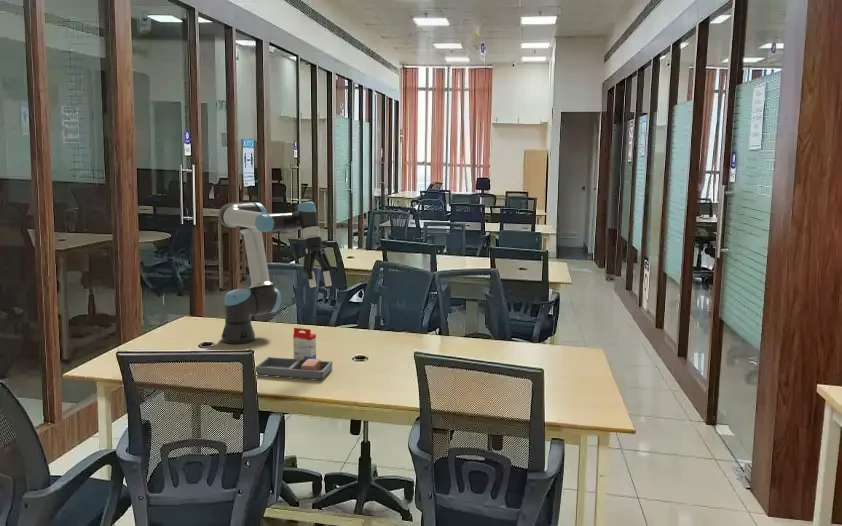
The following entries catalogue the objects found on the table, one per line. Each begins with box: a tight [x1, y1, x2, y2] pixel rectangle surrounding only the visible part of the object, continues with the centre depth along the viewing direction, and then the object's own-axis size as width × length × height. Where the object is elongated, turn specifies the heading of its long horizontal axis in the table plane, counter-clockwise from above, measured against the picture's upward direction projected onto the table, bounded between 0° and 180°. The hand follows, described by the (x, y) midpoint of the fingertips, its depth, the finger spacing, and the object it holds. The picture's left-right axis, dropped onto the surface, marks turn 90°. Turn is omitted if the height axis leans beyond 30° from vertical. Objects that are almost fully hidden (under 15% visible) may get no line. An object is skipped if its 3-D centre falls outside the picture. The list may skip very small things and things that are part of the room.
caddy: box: [255, 356, 333, 381], centre depth 274 cm, size 27×14×4 cm, turn 82°
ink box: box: [292, 327, 317, 360], centre depth 289 cm, size 8×5×15 cm, turn 71°
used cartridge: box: [301, 358, 321, 371], centre depth 273 cm, size 5×9×4 cm, turn 172°
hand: (321, 286), depth 291 cm, fingers open, 13 cm apart
